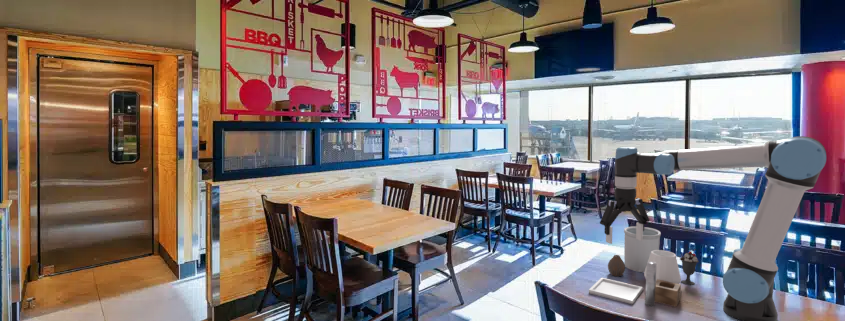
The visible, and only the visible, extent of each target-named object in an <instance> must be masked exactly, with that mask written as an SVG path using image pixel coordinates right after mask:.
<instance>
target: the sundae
mask: <svg viewBox="0 0 845 321" xmlns="http://www.w3.org/2000/svg"><path fill="white" fill-rule="evenodd" d="M696 250H697V249H696V248H694V249H693V250H691V251H689V252H686V253H685V254H684V255H683V254H682V253H681V254H680V256H681V257H679V261H681V265H682V272H683V273H684V274H685V275H686V279H684V280H683V279H681V282H680V283H681V284H683V285H686V286H694V285H696V284H695V282H693V281H692V280H691V276H692V275H693V274H695V271H696V268H697V264H698V263H699V262H700V261H699V259H698V258H697V255H696V253H693V252H695V251H696Z"/></svg>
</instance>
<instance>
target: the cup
mask: <svg viewBox="0 0 845 321" xmlns="http://www.w3.org/2000/svg"><path fill="white" fill-rule="evenodd" d="M648 262H654V263H656V264H657V268H656V280H657V279H658V280H663V281H668V282H672V283H677V284H681V283H682V282H681V281H682V278H681V274H680V273H681V272H680V269H679V264H678V259H677V256H676V253H674V252H672V251H669V250H663V249H659V250H654V251H651V254H650V257H649V260H648ZM646 270H647V265H646V268H645V271H644V272H643V273H644V274H643V276H644V278H645V279H646Z"/></svg>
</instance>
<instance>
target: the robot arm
mask: <svg viewBox="0 0 845 321" xmlns="http://www.w3.org/2000/svg"><path fill="white" fill-rule="evenodd" d="M826 163H827V151H826V148H825V146H824V145H823V144H822V142H820V141H819V140H818V139H815V138H814V137H810V136H806V135H805V136H803V135H802V136H799V135H798V136H794V137H793V136H792V137H790V138H785V139H777V140H768V141H766V142H765V143H763V144H752V145H751V144H750V145H736V146H734V145H733V146H718V147H707V148H705V147H704V148H690V149H689V148H688V149H678V150H675V149H674V150H670V149H666V150H661V151H658V152H653V153H652V152H649V153H648V152H647V153H644V152H639V150H638V147H634V146H620V147H617V148H616V149H615V158H614V165H615V166H614V186H615V188H614V197H615V199H614V200H609V199H608V200H607V206H606V208H605V210H604V211H603V215H602V217H601V219H600V220H599V224H600V225H602V226H603V227H604V234H605V243H607V244H610V245H612V244H613V226H612V224H613V223H614V222H615V221H616V219H617V218H618V216H619V215H620V214H621V213H622V212H623V213H625V212H626V213H627V212H630V213H631V214H632V215H633V217H634V218H635V219H636V221H637V222H636V225H635V227H636V239H638V240H641V241H643V231H644V227H645V225H647V223H648V222H650V218H649V216H648V214H647V213H648V212H647V210H646V208H645V206H644V201H643V198H639V197H637V188H636V187H638V186H637V183H638V182H637V181H638V180H637V177H638V175H637V174H650V175H651V174H652V175H660V176H662V175H663V176H664V175H671V174H672V173H673V172H674V171H679V170H680V171H681V170H706V169H707V170H708V169H709V170H711V169H715V170H716V169H740V168H745V169H746V168H767V169H766V172H765V174H764V175H765V178H766V179H767V180H768V184H767V186H766V189H765V191H764V194H763V196H762V197H761V201H760V204H759V205H758V208H757V211H756V212H755V216H754V218H753V219H752V220H753V221H752V223H751V226H750V228H749V230H748V232H747V236H746V238H745V240H744V243H743V246H742V248H735V249H734V250H733V253H732V255H731V256H732V257H731V259H730V262H729V265H728V267H727V270H726V271H725V272H724V273H723V276H722V286H723V289H724V290H725V291H726V293H727V295H726V297H725V299H724V301H723V304H722V305H723V306H722V309H723V311H724V313H726V314H727V315H728V316H730V317H732V318H734V319H737V320H739V321H778V316H779V314H778V312H777V308H776V307H777V306H776V305H775V302H774V297H773V295H774V282H775V277H776V275H777V273H778V270H779V267H778V266H777V263H776V259H777V257H778V254H779V251H780V250H781V248H782V245H783V242H784V240H785V238H786V235H787V233H788V231H789V229H790V227H791V224H792V222H793V220H794V217H795V214H796V213H797V210H798V207H799V206H800V203H801V201H802V198H803V196H804V194H805V192H806V191H808V190H811V189H814V187H815V185H816V183H817V181H818V178H819V176H820V174H821V172H822V170H823V168H824V167H825V166H826ZM635 205H636V206H635Z"/></svg>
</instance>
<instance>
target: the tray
mask: <svg viewBox="0 0 845 321" xmlns="http://www.w3.org/2000/svg"><path fill="white" fill-rule="evenodd" d="M643 289H644V288H643V286H639V285H635V284H632V283H626V282H623V281H619V280H615V279H609V278H606V277H600V278H599V279H598V280H597V281H596V282H595V283H594V284H593V285H592V286H591V287H590V288H589V289H588V294H590V295H594V296H599V297H602V298H605V299H610V300H614V301H617V302H621V303H625V304H629V305H634V303H635V302H636V300H637V299H638V298H639V296H640V295H641V294H642V292H643Z"/></svg>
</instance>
